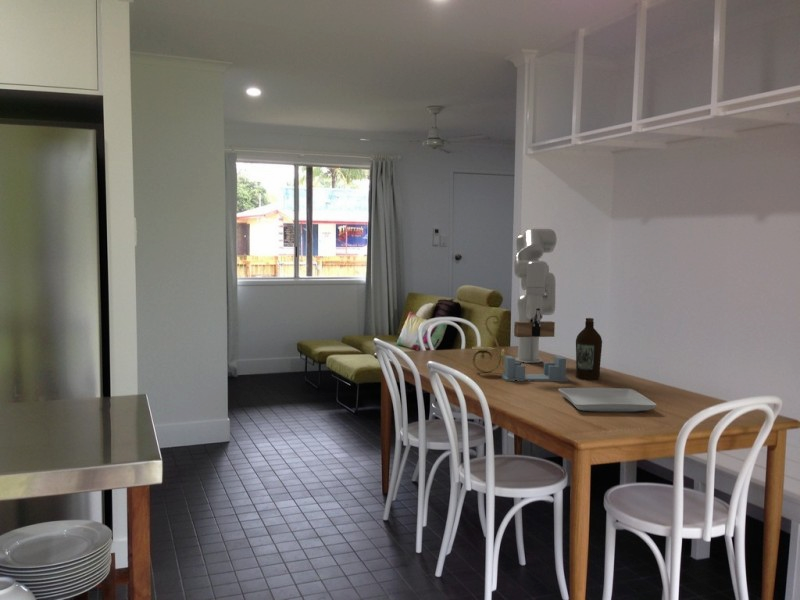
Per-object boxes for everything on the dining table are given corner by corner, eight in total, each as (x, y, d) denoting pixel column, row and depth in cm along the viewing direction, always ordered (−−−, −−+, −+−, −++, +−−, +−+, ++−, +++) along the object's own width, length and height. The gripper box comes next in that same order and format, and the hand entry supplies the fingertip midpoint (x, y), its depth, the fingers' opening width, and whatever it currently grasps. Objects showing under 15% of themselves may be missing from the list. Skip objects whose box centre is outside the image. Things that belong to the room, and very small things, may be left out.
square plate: (630, 397, 260) (631, 387, 260) (657, 415, 233) (658, 404, 232) (557, 396, 260) (557, 386, 260) (575, 414, 233) (575, 403, 232)
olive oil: (579, 374, 303) (581, 316, 301) (604, 377, 297) (606, 318, 295) (570, 378, 294) (572, 318, 292) (596, 381, 288) (598, 320, 286)
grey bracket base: (500, 376, 297) (501, 355, 296) (561, 376, 298) (562, 355, 297) (505, 381, 287) (506, 359, 286) (568, 381, 288) (569, 359, 287)
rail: (514, 336, 293) (514, 321, 293) (550, 335, 296) (550, 321, 296) (517, 337, 289) (518, 322, 289) (554, 336, 292) (554, 322, 292)
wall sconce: (501, 370, 310) (502, 313, 308) (505, 374, 301) (507, 316, 299) (469, 370, 310) (471, 313, 308) (472, 374, 300) (474, 315, 298)
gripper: (521, 290, 300) (520, 333, 301) (531, 292, 283) (530, 338, 284) (539, 290, 300) (538, 333, 301) (550, 292, 283) (548, 338, 284)
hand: (534, 335), depth 293 cm, fingers closed on rail, 4 cm apart
